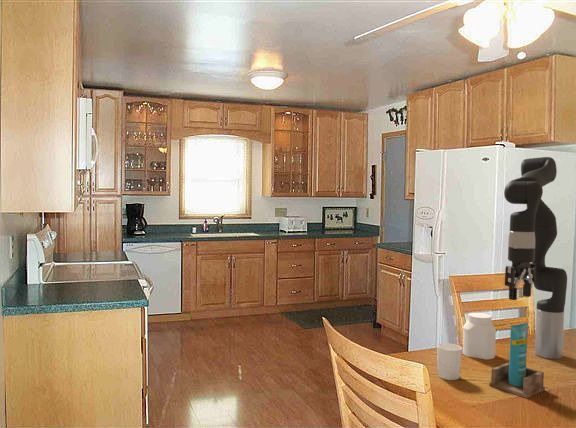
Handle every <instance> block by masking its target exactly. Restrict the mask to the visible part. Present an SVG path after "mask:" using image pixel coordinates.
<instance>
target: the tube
mask: <svg viewBox="0 0 576 428" xmlns="http://www.w3.org/2000/svg"><path fill="white" fill-rule="evenodd" d="M528 325H529V324H528V322H524V323H519V324H512V325H510V335H509V337H510V338H509V357H508V358H509V359H508V360H509V378H508V383H509V384H511V385H513V386H517V387H523V378H525V377H526V367H527V354H528V353H527V352H528V332H529V331H528V328H529V327H528Z"/></svg>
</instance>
